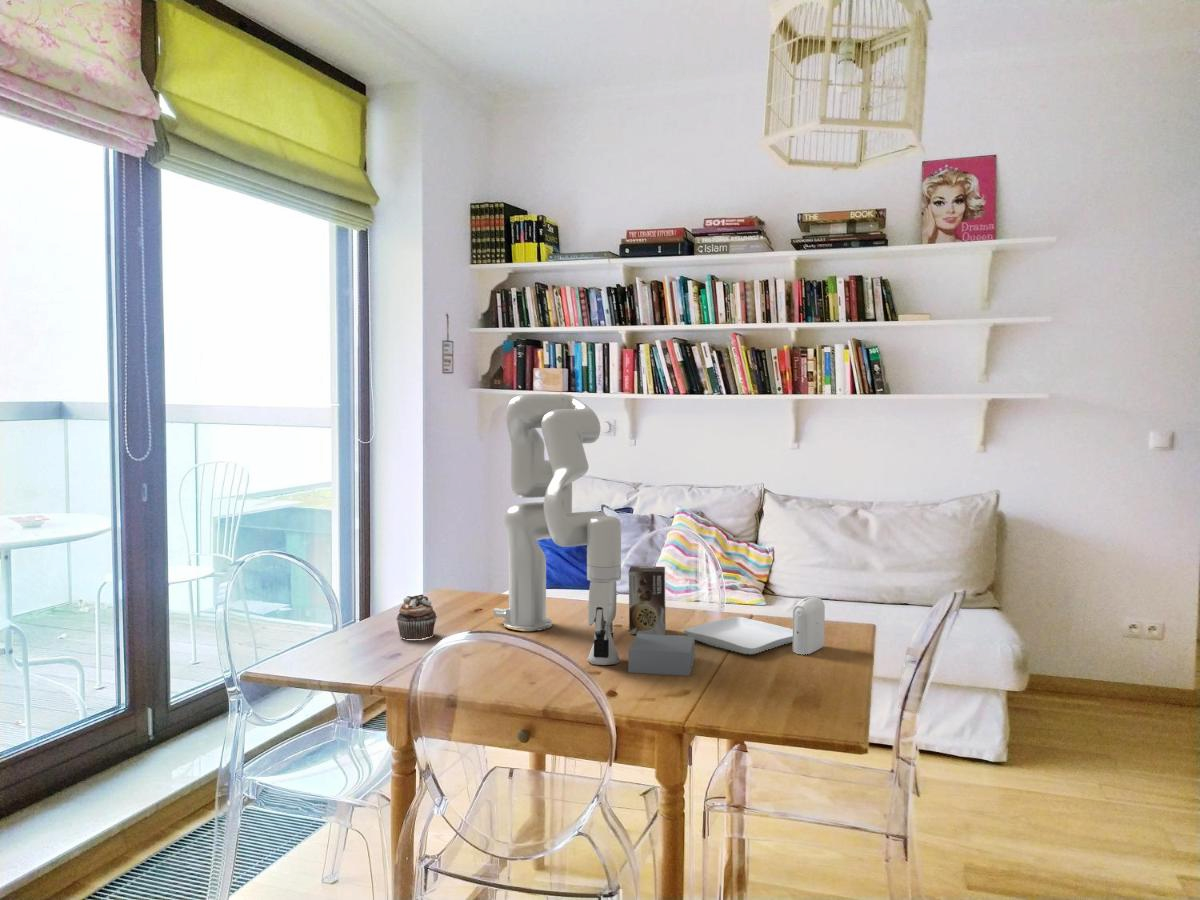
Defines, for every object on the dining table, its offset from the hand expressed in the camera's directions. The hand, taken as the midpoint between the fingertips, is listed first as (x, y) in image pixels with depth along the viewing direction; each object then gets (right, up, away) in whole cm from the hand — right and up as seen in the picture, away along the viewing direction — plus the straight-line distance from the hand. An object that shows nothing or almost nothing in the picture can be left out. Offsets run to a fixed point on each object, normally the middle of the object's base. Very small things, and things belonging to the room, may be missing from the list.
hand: (603, 652), depth 197 cm
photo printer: (+48, -2, +9) cm, 49 cm away
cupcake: (-46, -1, +21) cm, 50 cm away
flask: (0, -2, 0) cm, 2 cm away
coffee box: (+11, -1, +25) cm, 28 cm away
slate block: (+13, -2, -2) cm, 13 cm away
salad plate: (+34, -2, +16) cm, 37 cm away
